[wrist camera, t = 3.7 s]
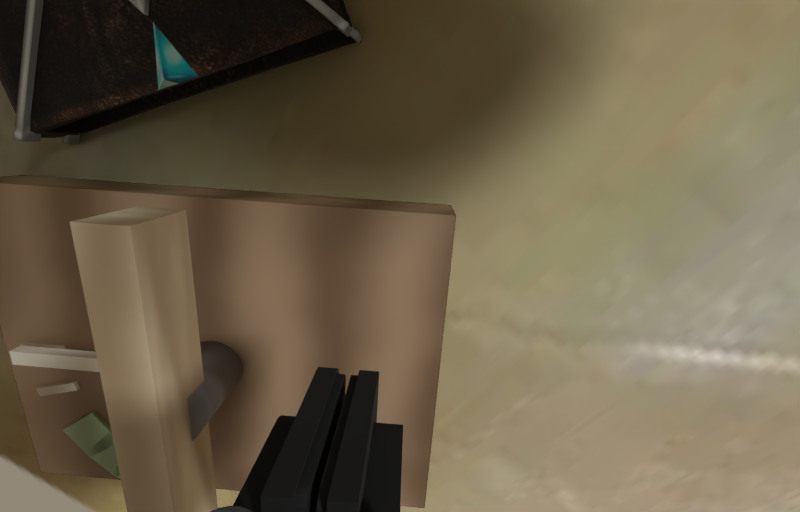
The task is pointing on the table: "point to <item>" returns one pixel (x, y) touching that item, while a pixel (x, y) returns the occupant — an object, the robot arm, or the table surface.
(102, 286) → the wooden lever
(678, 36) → the table surface
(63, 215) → the dial board
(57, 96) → the book
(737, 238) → the table surface
